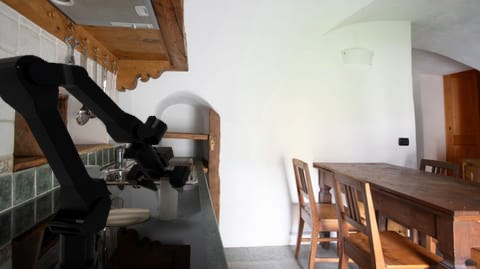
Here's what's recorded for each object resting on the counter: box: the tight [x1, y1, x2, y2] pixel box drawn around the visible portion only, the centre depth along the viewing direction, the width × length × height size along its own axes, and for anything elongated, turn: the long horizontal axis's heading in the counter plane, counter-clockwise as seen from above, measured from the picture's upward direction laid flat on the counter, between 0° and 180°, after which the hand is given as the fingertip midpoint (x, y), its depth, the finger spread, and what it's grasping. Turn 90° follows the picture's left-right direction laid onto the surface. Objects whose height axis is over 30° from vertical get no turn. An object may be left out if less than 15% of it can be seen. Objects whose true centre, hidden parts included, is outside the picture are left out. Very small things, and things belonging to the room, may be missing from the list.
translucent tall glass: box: [159, 177, 179, 221], centre depth 79 cm, size 5×5×14 cm
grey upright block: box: [158, 188, 160, 211], centre depth 90 cm, size 6×6×7 cm
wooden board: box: [106, 207, 152, 227], centre depth 78 cm, size 16×16×1 cm
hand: (169, 191), depth 79 cm, fingers open, 9 cm apart
